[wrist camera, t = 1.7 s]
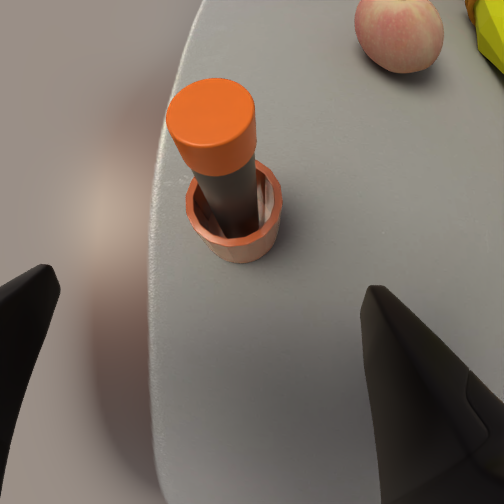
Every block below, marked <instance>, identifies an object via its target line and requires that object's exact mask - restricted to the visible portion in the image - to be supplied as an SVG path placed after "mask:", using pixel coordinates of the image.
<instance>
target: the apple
mask: <svg viewBox="0 0 504 504" xmlns="http://www.w3.org/2000/svg"><path fill="white" fill-rule="evenodd" d="M355 31H356V35H357V38H358V40H359V43H360V45H361V46H362V48H363V50H364V51H365V53H366V54H367V55H368V56H369V57H370V58H371V59H372V60H373V61H374V62H376V63H377V64H378V65H380V66H381V67H383V68H385V69H387V70H389V71H391V72H395V73H412V72H416V71H420V70H424V69H426V68H428V67H430V66H431V65H432V64H433V63H434V61H435V60H436V59H437V57H438V56H439V54H440V52H441V49H442V45H443V39H444V29H443V24H442V20H441V18H440V15H439V13H438V11H437V10H436V8H435V7H434V6H433V4H432V3H431V2H430V1H428V0H361V1H360V3H359V4H358V6H357V10H356V14H355Z"/></svg>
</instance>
